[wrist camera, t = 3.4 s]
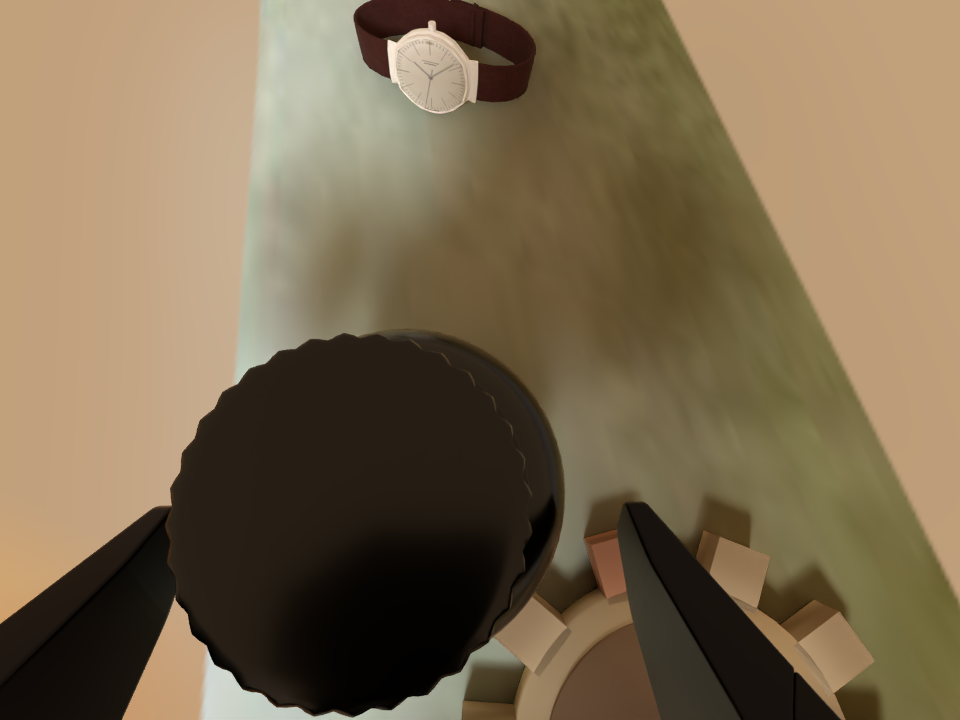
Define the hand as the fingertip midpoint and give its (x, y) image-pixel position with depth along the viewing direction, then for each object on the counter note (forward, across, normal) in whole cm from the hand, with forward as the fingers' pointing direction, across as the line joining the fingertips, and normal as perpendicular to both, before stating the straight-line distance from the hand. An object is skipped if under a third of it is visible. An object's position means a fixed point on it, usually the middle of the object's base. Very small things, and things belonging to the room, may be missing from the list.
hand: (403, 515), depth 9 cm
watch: (+19, 0, -6) cm, 20 cm away
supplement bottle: (+6, 0, +6) cm, 8 cm away
